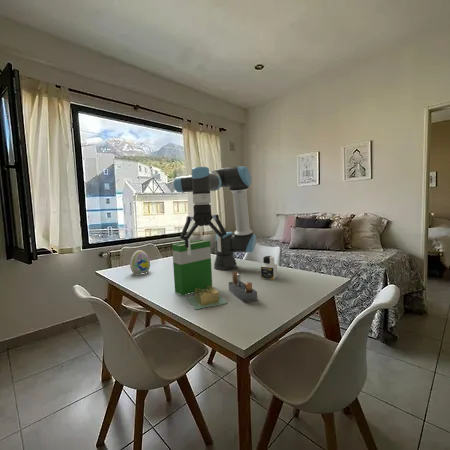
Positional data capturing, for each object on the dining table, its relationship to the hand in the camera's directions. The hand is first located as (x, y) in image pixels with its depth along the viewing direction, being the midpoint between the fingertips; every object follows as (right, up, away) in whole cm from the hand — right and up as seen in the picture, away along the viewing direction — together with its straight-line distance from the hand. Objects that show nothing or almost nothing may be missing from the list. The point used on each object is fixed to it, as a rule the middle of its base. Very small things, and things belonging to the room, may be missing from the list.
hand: (204, 253), depth 110 cm
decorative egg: (-46, -19, +54) cm, 73 cm away
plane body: (+17, -20, +8) cm, 27 cm away
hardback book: (-7, -21, +19) cm, 29 cm away
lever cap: (+1, -21, +2) cm, 21 cm away
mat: (+1, -22, +2) cm, 22 cm away
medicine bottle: (+34, -18, +32) cm, 50 cm away
